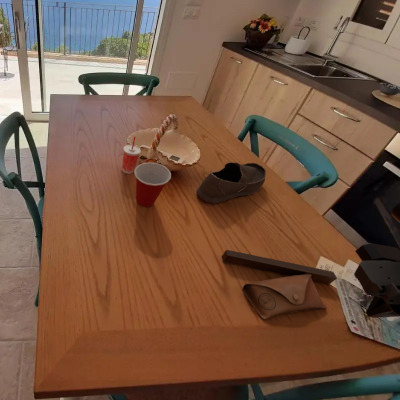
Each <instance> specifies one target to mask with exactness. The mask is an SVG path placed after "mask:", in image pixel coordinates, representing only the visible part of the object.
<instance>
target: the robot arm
mask: <svg viewBox="0 0 400 400" xmlns="http://www.w3.org/2000/svg"><path fill="white" fill-rule="evenodd" d="M390 214H391V216H392V217H393V218H394V219H395V221H397V222H398V223H399V224H400V202H398V203H397V204H396V205H395V206H394V207H393V208H392V209H391V212H390ZM354 252H355V253H356V254H357V256H358V258H359V260H361V261H360V262H359V264H358V266H357V268H356V269H355V271H354V273H353V276H354V278H355V279H357V281H358V282H359V284H360V286H361V287H362V291H364V293H365V294H367V295H368V296H371V297H372V298H371V301H370V302H369V305H368V307H367V309H366V311H365V314H366V315H367V317H368V318H372V319H376V318H377V319H378V318H379V319H380V318H398V317H399V318H400V249H399V248H398V247H395V246H390V245H383V244H378V243H373V242H367V243H362V245H360V246H359V247H358V248H356V249H355V251H354Z"/></svg>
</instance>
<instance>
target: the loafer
mask: <svg viewBox="0 0 400 400" xmlns="http://www.w3.org/2000/svg"><path fill="white" fill-rule="evenodd" d="M266 176H267V170H266V168H265V167H264V166H263V165H261V164H259V163H257V162H247V163H244V164H241V163H239V162H232V161H229V162H226V163H225V164H224V167H223V168H222V169H220V170H215V171H210V172H209V174H207V175H206V176H205V178H204V179H203V180H202V182H201V183H200V186H198V188H196V191H195V192H196V195H197V196H198V197H199V198H200V199H201V200H203V201H204V202H206V203H209V204H219V203H223V202H225V201H226V202H227V201H229V200H231V199H234V198H237V197H245V196H251V195H254V194H255V193H257V192H258V191H259V190H261V188H262V187H263V185H264V183H265V181H266Z"/></svg>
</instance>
